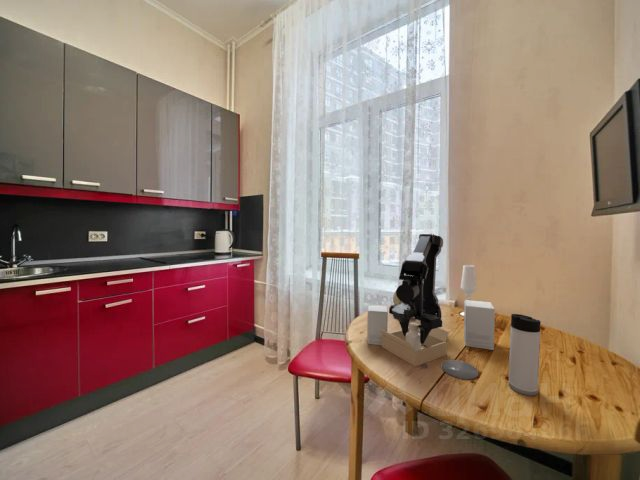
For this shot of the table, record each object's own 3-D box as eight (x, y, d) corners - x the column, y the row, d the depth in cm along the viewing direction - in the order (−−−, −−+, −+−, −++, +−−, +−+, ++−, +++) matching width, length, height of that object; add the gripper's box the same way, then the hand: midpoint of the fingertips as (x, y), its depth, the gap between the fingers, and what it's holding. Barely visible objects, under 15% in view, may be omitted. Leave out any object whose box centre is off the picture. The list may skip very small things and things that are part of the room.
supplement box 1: (387, 346, 97) (388, 311, 97) (367, 344, 99) (367, 310, 98) (386, 337, 105) (387, 305, 104) (367, 336, 106) (367, 304, 105)
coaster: (454, 358, 88) (454, 356, 88) (485, 373, 79) (485, 371, 79) (434, 366, 83) (434, 364, 83) (464, 383, 74) (464, 381, 74)
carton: (415, 337, 104) (415, 318, 104) (449, 353, 91) (450, 332, 91) (378, 348, 96) (378, 328, 95) (410, 367, 82) (411, 344, 82)
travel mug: (501, 382, 75) (504, 312, 73) (523, 381, 75) (526, 311, 74) (520, 397, 68) (523, 320, 67) (544, 395, 69) (547, 319, 68)
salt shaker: (413, 354, 91) (413, 327, 90) (404, 349, 94) (405, 323, 94) (421, 352, 93) (422, 325, 92) (412, 347, 96) (413, 321, 96)
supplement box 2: (490, 340, 101) (491, 301, 100) (494, 351, 93) (495, 308, 92) (463, 336, 105) (464, 299, 104) (464, 346, 97) (465, 305, 96)
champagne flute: (462, 311, 135) (464, 264, 134) (477, 314, 130) (479, 265, 129) (457, 314, 131) (458, 265, 129) (472, 318, 126) (474, 267, 124)
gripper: (377, 292, 97) (377, 334, 98) (419, 306, 80) (418, 356, 81) (400, 288, 102) (399, 328, 103) (443, 300, 86) (442, 348, 87)
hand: (413, 339), depth 93 cm, fingers open, 7 cm apart
